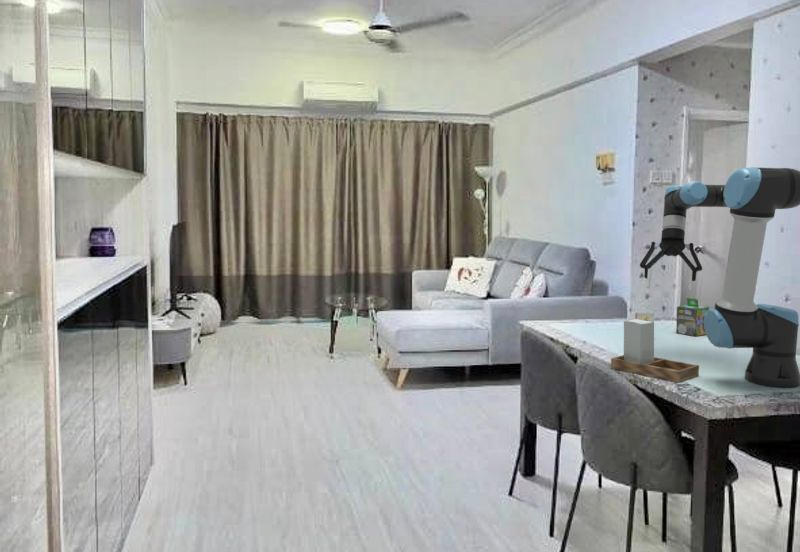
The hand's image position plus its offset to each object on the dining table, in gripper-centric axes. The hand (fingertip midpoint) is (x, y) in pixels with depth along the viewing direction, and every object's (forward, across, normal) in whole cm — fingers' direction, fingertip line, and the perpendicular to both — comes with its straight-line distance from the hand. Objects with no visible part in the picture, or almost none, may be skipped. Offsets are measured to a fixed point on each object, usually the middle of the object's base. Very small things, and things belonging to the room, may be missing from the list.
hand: (668, 288), depth 244 cm
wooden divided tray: (+31, +1, +15) cm, 34 cm away
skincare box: (+29, +6, +13) cm, 33 cm away
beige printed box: (+13, +11, -38) cm, 42 cm away
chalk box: (+7, -5, -56) cm, 57 cm away
